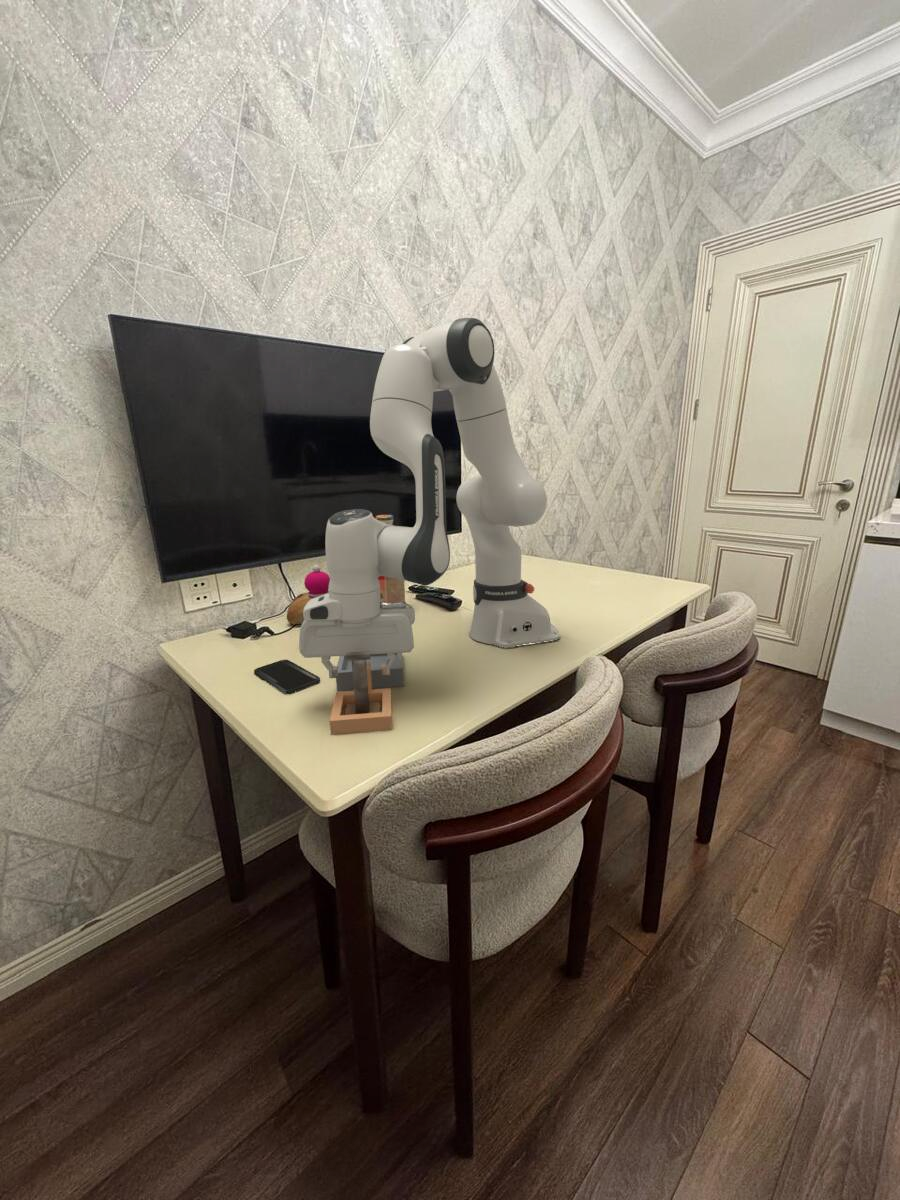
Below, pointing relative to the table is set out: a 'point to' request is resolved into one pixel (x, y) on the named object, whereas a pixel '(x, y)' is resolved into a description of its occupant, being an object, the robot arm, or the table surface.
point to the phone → (287, 676)
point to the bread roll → (297, 609)
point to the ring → (361, 721)
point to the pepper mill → (317, 583)
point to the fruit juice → (390, 587)
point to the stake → (360, 685)
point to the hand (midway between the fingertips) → (360, 675)
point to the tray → (378, 679)
